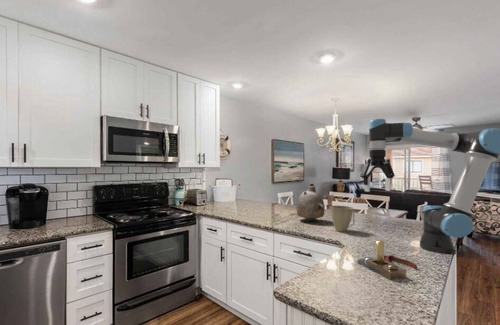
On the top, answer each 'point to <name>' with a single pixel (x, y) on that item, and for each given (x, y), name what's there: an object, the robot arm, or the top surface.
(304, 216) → the jug
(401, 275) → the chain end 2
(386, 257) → the pliers
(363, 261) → the chain end
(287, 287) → the top surface
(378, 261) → the brass pin
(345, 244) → the top surface
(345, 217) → the plant pot
